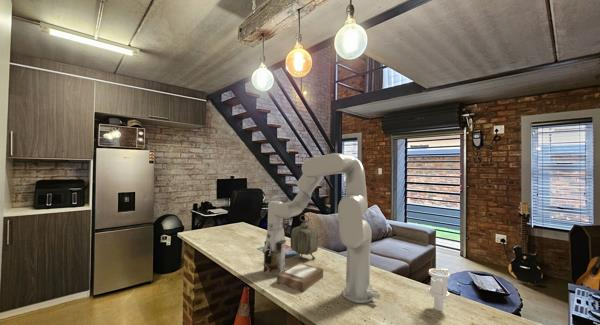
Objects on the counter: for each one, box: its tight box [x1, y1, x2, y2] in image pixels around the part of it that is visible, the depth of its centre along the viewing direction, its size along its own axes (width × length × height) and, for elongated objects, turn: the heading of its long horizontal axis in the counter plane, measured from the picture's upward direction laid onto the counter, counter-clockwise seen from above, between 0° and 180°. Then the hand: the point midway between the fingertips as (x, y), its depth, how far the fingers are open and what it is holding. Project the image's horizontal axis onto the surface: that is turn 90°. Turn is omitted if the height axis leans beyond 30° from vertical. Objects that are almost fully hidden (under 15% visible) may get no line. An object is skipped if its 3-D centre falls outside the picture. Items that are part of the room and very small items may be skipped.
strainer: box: [428, 268, 451, 312], centre depth 98 cm, size 7×7×15 cm
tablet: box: [256, 244, 299, 260], centre depth 161 cm, size 19×25×1 cm
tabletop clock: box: [289, 214, 319, 260], centre depth 148 cm, size 14×9×25 cm, turn 50°
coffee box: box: [263, 239, 287, 277], centre depth 128 cm, size 9×6×16 cm
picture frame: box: [276, 262, 324, 293], centre depth 120 cm, size 14×18×5 cm
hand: (274, 260), depth 127 cm, fingers open, 9 cm apart
